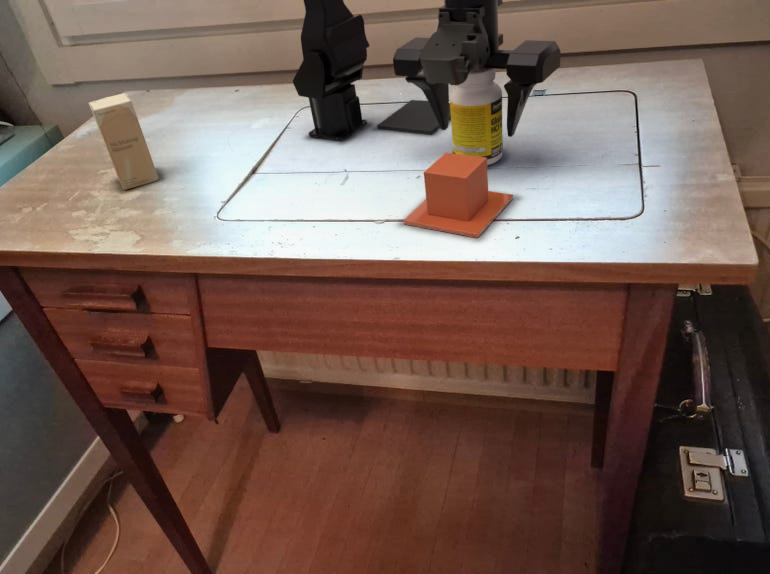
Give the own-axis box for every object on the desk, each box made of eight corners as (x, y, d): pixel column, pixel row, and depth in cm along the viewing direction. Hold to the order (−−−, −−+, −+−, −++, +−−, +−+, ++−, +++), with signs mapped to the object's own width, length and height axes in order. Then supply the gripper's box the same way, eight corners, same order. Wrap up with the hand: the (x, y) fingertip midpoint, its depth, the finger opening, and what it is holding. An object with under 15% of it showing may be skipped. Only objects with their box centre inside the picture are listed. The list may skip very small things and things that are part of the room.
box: (124, 191, 90) (90, 110, 83) (119, 180, 93) (85, 102, 86) (161, 179, 91) (131, 99, 84) (155, 169, 94) (125, 90, 87)
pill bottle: (501, 168, 80) (499, 74, 73) (450, 169, 81) (444, 78, 74) (504, 146, 84) (503, 56, 77) (456, 148, 86) (451, 60, 79)
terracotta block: (427, 214, 73) (423, 172, 69) (448, 194, 76) (445, 152, 72) (468, 221, 70) (465, 178, 67) (488, 200, 73) (487, 157, 70)
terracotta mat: (403, 224, 73) (403, 220, 72) (442, 187, 78) (442, 183, 78) (477, 238, 68) (477, 233, 68) (513, 198, 74) (513, 194, 73)
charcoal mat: (377, 128, 95) (376, 125, 94) (412, 103, 101) (411, 99, 100) (431, 134, 90) (431, 131, 90) (464, 107, 96) (464, 104, 96)
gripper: (358, 11, 70) (378, 151, 80) (521, 12, 61) (521, 169, 71) (410, -16, 77) (423, 116, 87) (564, -19, 68) (559, 129, 78)
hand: (476, 132), depth 81 cm, fingers open, 9 cm apart
